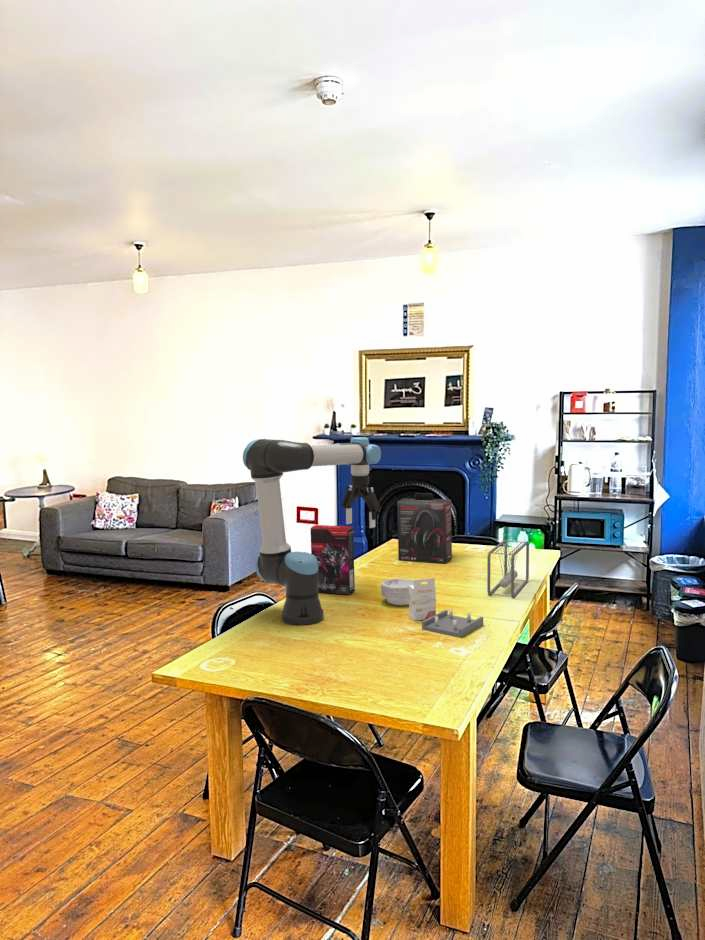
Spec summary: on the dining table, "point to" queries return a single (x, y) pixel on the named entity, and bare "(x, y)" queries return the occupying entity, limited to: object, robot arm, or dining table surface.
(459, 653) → the dining table surface
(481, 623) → the pin tray
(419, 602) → the ink cartridge box
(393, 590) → the paper bowls
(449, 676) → the dining table surface
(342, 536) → the graphics card box
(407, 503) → the headset box
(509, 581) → the newton's cradle
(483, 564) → the dining table surface
